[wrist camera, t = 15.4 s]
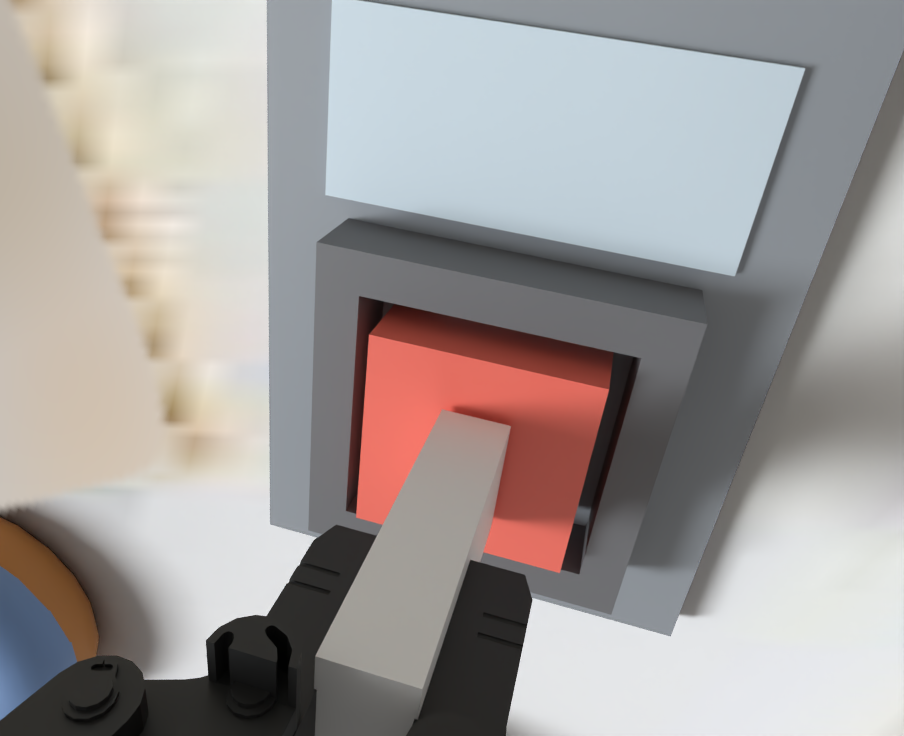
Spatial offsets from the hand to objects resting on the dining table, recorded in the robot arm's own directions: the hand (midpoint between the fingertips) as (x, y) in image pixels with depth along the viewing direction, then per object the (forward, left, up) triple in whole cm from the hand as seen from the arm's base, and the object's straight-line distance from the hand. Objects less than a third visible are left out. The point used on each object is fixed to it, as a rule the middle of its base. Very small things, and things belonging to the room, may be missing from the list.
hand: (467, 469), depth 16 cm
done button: (0, 0, -2) cm, 2 cm away
